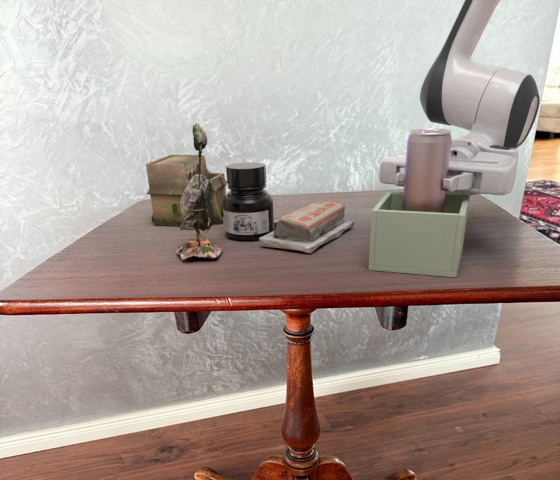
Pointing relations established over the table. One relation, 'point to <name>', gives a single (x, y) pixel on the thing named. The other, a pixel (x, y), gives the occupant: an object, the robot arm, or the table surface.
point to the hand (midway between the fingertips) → (423, 182)
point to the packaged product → (308, 227)
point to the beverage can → (426, 170)
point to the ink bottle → (247, 202)
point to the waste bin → (417, 237)
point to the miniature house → (180, 188)
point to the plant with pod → (198, 207)
